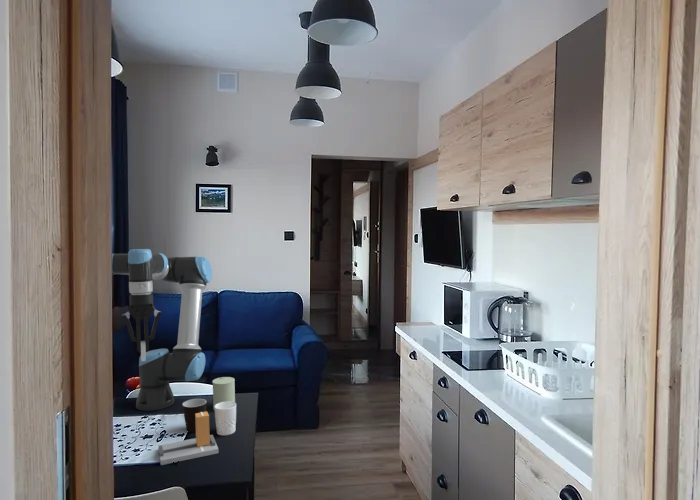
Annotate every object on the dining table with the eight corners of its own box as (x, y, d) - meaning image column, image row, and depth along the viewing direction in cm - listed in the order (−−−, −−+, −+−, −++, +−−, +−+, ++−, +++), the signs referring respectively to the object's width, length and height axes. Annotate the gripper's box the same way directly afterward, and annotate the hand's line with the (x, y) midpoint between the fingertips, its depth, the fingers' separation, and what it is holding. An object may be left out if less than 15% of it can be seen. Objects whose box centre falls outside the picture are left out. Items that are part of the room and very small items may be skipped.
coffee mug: (200, 434, 173) (199, 407, 173) (178, 433, 175) (177, 406, 175) (215, 421, 185) (214, 396, 184) (195, 420, 187) (194, 395, 186)
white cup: (225, 438, 170) (224, 410, 170) (210, 433, 174) (209, 406, 174) (241, 430, 177) (240, 403, 177) (226, 425, 181) (225, 399, 181)
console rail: (158, 449, 162) (158, 442, 162) (212, 438, 170) (212, 432, 170) (160, 465, 151) (160, 457, 151) (218, 453, 159) (218, 445, 159)
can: (231, 401, 206) (231, 374, 206) (238, 408, 198) (237, 380, 198) (210, 406, 202) (209, 378, 201) (216, 413, 194) (215, 384, 193)
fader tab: (196, 442, 163) (195, 412, 163) (208, 439, 165) (207, 410, 165) (197, 446, 160) (196, 417, 159) (209, 444, 162) (209, 414, 161)
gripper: (120, 296, 159) (122, 365, 160) (162, 293, 165) (164, 360, 166) (120, 293, 166) (123, 360, 167) (160, 290, 172) (162, 355, 173)
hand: (143, 360), depth 166 cm, fingers closed
